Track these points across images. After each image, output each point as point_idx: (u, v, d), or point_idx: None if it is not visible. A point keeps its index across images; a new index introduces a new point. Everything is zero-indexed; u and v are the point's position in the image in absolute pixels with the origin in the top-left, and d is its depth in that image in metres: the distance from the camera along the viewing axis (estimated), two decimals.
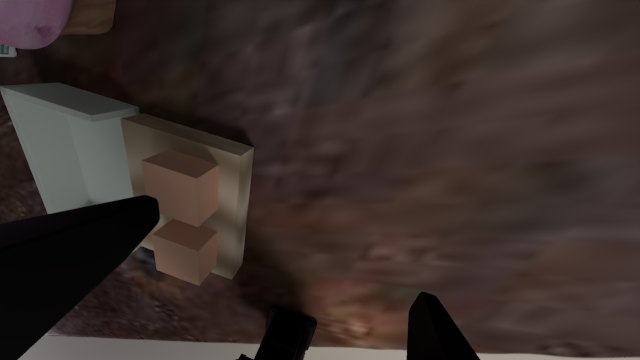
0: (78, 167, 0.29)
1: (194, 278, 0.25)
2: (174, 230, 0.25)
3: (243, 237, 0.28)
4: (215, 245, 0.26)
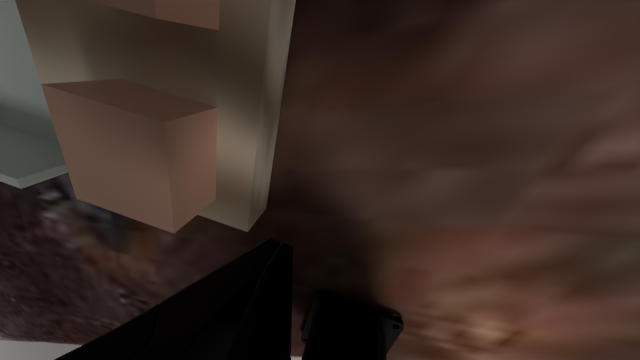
0: None
1: (162, 213, 0.10)
2: (109, 89, 0.10)
3: (273, 141, 0.13)
4: (213, 144, 0.11)
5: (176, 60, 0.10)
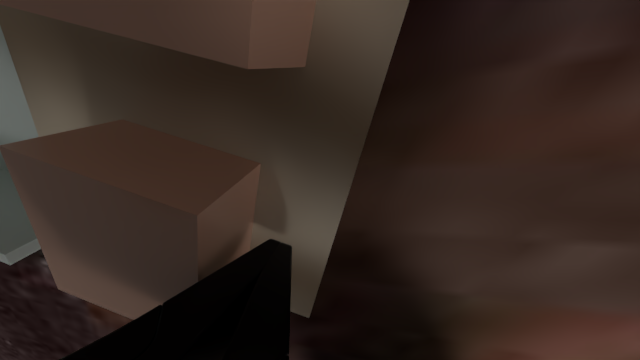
0: None
1: None
2: (106, 144, 0.07)
3: None
4: (251, 211, 0.08)
5: (231, 106, 0.07)
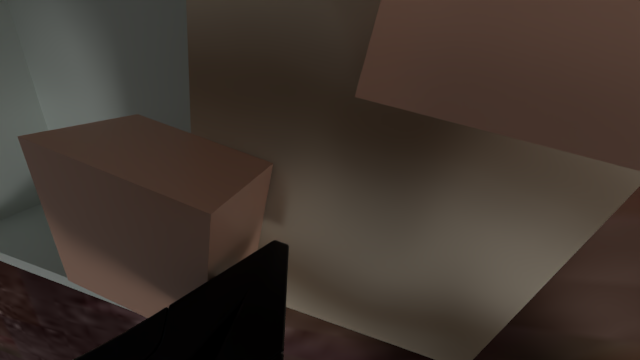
0: (17, 57, 0.10)
1: None
2: (121, 138, 0.07)
3: None
4: (261, 210, 0.08)
5: (457, 168, 0.07)
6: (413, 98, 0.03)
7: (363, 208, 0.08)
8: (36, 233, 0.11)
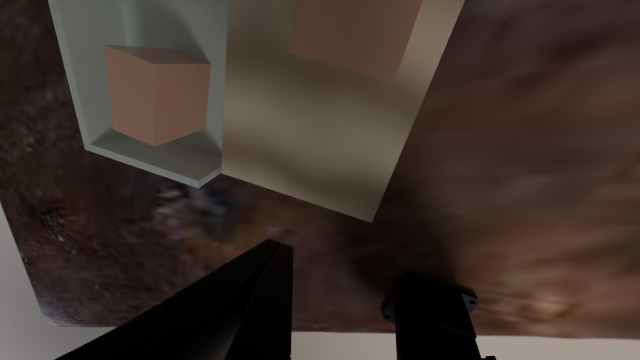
0: (123, 43, 0.18)
1: None
2: (177, 55, 0.16)
3: None
4: (149, 93, 0.14)
5: (350, 96, 0.14)
6: (305, 53, 0.11)
7: (310, 120, 0.15)
8: (128, 147, 0.19)
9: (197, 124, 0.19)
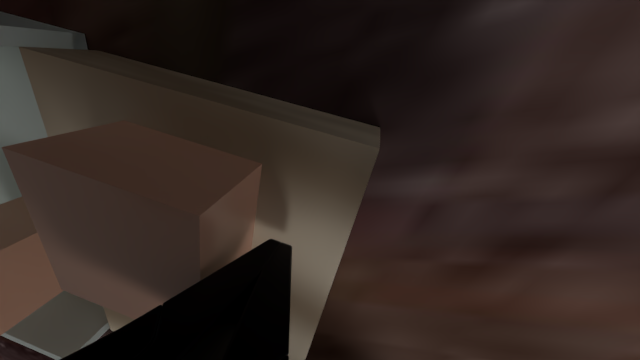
0: None
1: None
2: None
3: None
4: None
5: None
6: (81, 294, 0.08)
7: None
8: None
9: None
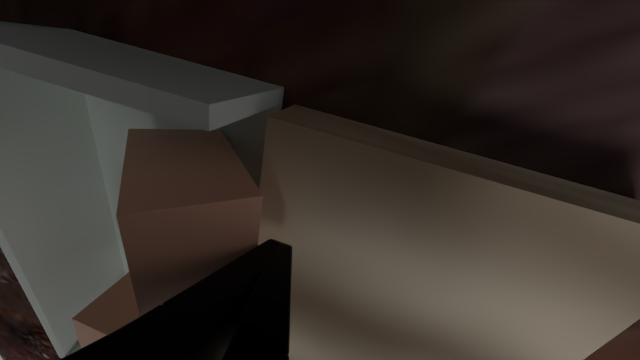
0: (108, 221, 0.14)
1: None
2: None
3: None
4: None
5: None
6: None
7: None
8: None
9: None
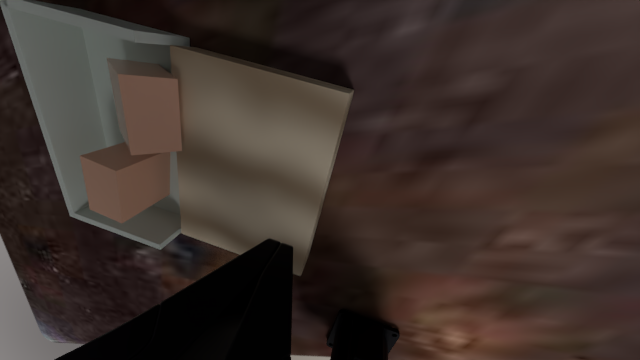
0: (100, 131, 0.22)
1: None
2: None
3: (317, 221, 0.21)
4: (115, 189, 0.18)
5: (270, 188, 0.18)
6: (120, 129, 0.18)
7: (244, 202, 0.20)
8: None
9: (161, 194, 0.23)
